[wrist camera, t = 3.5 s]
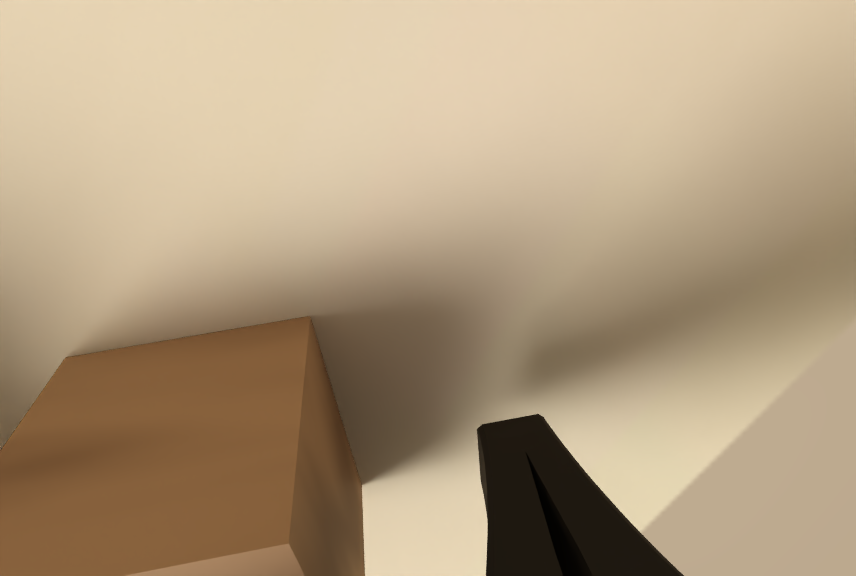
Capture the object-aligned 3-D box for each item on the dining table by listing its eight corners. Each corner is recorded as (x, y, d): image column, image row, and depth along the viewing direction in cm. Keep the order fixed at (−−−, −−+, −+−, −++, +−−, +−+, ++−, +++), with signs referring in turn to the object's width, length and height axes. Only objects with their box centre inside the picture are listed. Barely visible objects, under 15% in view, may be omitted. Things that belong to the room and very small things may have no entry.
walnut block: (361, 482, 14) (369, 704, 10) (180, 516, 14) (109, 760, 9) (310, 313, 10) (288, 543, 6) (67, 354, 10) (-120, 622, 6)
